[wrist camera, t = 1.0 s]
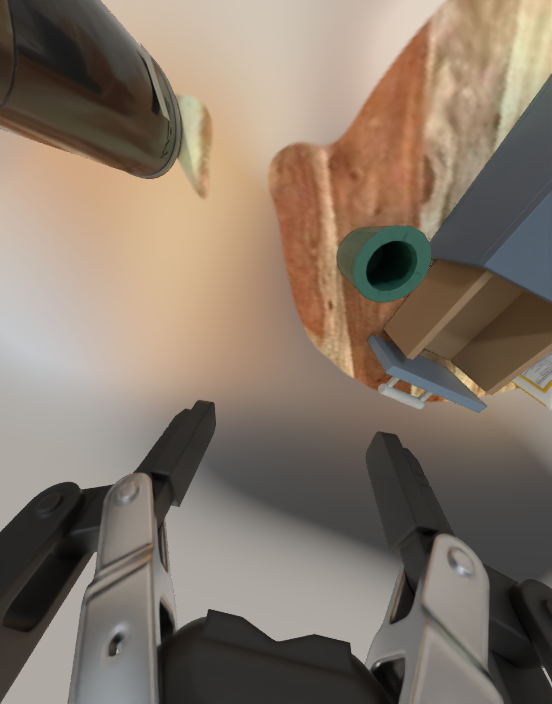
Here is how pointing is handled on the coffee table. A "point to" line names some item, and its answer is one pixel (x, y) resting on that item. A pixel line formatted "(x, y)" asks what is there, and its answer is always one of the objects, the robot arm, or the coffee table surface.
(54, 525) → the robot arm
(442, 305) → the drawer
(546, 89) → the cabinet
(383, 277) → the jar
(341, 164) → the coffee table surface
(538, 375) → the supplement bottle
